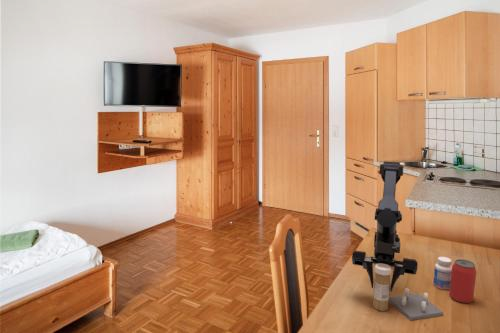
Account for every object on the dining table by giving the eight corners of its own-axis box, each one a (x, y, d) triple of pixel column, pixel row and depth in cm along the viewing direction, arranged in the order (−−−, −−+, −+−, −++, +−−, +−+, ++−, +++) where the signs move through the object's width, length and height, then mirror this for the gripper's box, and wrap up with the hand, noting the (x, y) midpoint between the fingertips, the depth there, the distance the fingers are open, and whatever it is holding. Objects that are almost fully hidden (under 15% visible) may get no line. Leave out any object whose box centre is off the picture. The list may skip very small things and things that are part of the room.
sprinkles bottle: (385, 303, 111) (388, 262, 109) (390, 311, 107) (393, 269, 104) (370, 302, 112) (373, 262, 109) (374, 311, 107) (377, 269, 105)
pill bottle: (435, 280, 126) (437, 254, 124) (452, 285, 122) (455, 258, 121) (431, 286, 121) (434, 259, 120) (449, 291, 118) (452, 264, 116)
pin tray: (417, 295, 116) (418, 284, 115) (442, 315, 105) (444, 302, 104) (387, 300, 113) (388, 288, 112) (410, 320, 103) (411, 307, 102)
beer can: (464, 292, 118) (468, 258, 115) (477, 303, 111) (482, 267, 109) (444, 292, 117) (448, 258, 115) (456, 304, 111) (461, 268, 109)
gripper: (354, 226, 112) (347, 274, 104) (419, 234, 105) (418, 287, 97) (355, 241, 121) (349, 286, 113) (416, 249, 114) (414, 299, 106)
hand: (381, 289), depth 107 cm, fingers open, 5 cm apart
